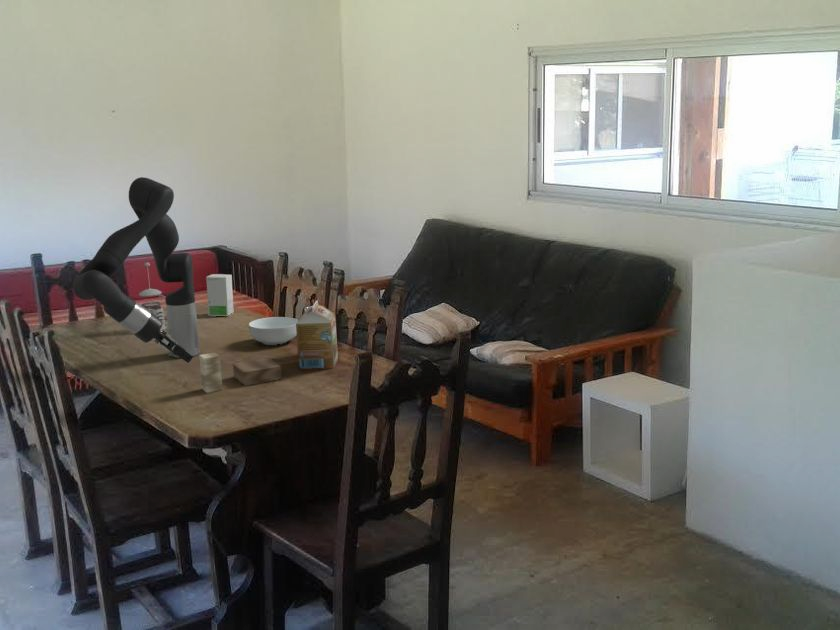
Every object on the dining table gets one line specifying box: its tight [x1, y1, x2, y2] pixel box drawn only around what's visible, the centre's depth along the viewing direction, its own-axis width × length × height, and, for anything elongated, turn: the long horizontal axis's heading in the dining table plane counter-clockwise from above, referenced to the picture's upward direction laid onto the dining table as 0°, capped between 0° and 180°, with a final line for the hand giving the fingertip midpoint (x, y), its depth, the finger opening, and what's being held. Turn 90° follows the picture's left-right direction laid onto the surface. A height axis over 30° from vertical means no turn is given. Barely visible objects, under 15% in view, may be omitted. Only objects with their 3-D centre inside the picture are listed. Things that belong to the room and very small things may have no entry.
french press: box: [138, 261, 167, 330], centre depth 340 cm, size 10×12×25 cm
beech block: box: [198, 352, 224, 394], centre depth 265 cm, size 5×5×10 cm
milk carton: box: [296, 299, 339, 370], centre depth 286 cm, size 11×11×19 cm
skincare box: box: [205, 273, 235, 317], centre depth 361 cm, size 8×7×16 cm
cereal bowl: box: [248, 316, 299, 346], centre depth 316 cm, size 17×17×7 cm
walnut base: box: [232, 357, 282, 387], centre depth 275 cm, size 11×11×4 cm
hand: (186, 356), depth 261 cm, fingers open, 8 cm apart
